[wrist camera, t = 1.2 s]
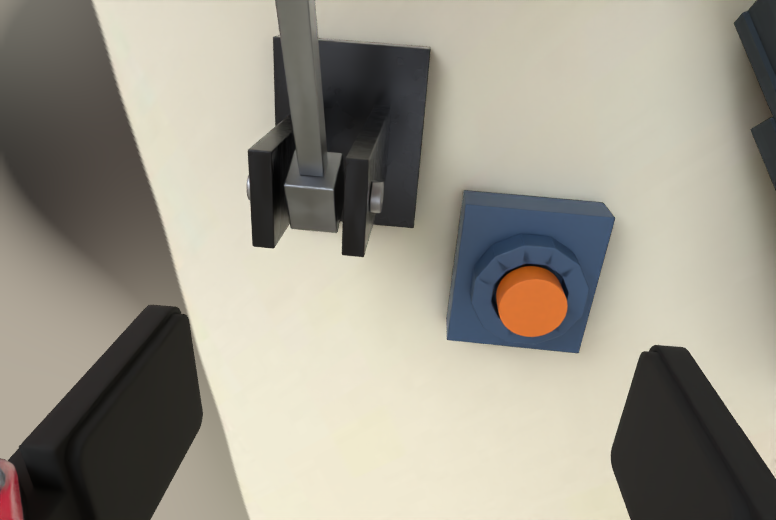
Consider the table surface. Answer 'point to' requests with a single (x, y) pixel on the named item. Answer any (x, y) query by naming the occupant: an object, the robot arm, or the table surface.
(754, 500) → the robot arm
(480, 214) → the control block
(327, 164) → the lever
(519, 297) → the button
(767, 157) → the pistol
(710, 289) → the table surface
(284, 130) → the lever bracket
